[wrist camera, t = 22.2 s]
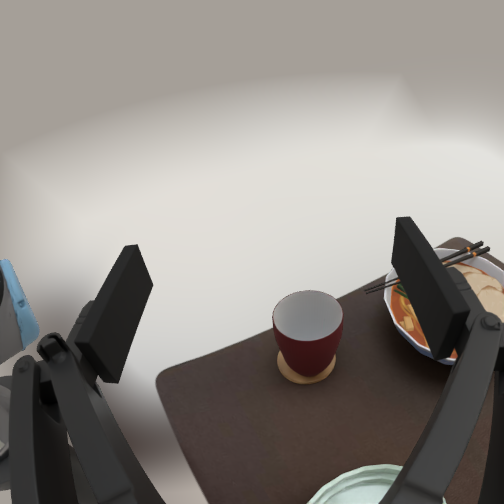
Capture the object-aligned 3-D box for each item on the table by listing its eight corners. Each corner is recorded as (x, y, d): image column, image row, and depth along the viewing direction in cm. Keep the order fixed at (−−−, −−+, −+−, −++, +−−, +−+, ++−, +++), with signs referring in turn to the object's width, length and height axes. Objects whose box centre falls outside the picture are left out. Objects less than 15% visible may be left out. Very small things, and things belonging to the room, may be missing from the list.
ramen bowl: (416, 426, 31) (436, 394, 26) (346, 307, 50) (348, 266, 45) (535, 349, 33) (557, 312, 29) (460, 267, 52) (469, 230, 47)
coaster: (298, 394, 38) (298, 392, 38) (267, 355, 44) (266, 352, 44) (347, 364, 41) (347, 361, 41) (313, 330, 47) (313, 327, 47)
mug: (270, 336, 46) (262, 285, 41) (323, 324, 47) (323, 271, 41) (286, 396, 38) (280, 349, 32) (347, 380, 38) (354, 330, 33)
